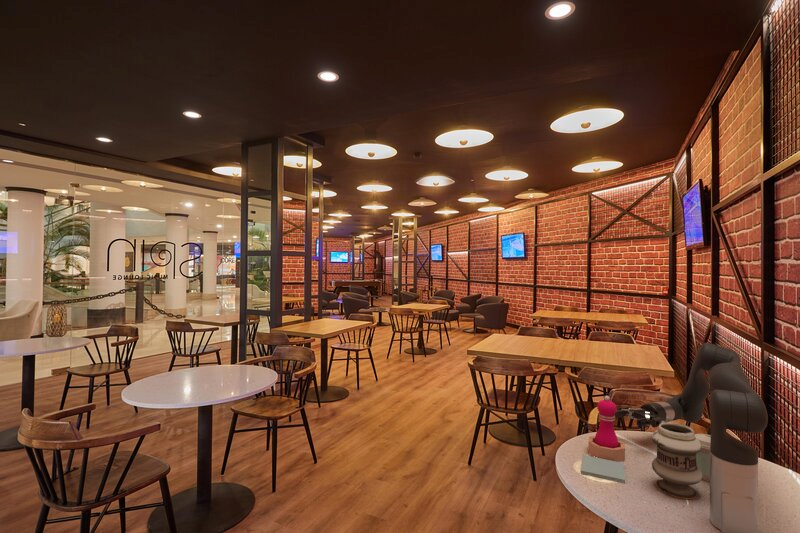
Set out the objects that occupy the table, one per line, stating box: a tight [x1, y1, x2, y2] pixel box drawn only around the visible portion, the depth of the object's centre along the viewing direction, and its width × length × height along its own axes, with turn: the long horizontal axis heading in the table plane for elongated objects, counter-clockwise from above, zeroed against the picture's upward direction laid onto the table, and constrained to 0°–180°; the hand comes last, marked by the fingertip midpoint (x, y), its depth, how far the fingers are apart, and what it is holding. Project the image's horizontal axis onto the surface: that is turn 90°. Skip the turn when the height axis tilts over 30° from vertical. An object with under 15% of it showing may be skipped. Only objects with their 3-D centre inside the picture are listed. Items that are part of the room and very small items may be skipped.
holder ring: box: [587, 435, 626, 462], centre depth 141 cm, size 11×11×4 cm
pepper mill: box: [594, 395, 619, 448], centre depth 141 cm, size 7×7×20 cm
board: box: [580, 454, 626, 484], centre depth 130 cm, size 12×12×1 cm
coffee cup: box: [694, 433, 711, 483], centre depth 126 cm, size 9×8×12 cm
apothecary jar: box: [651, 422, 703, 500], centre depth 119 cm, size 12×12×18 cm
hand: (626, 418), depth 145 cm, fingers open, 8 cm apart
